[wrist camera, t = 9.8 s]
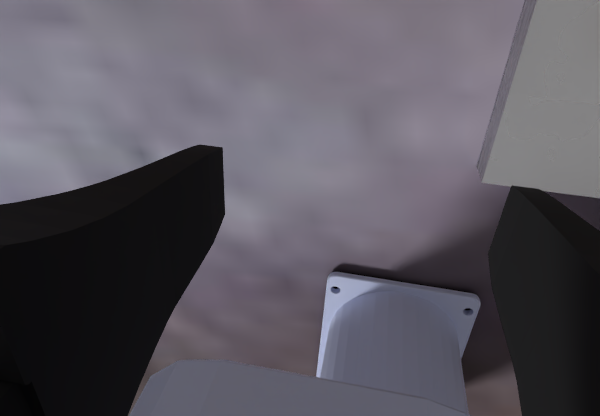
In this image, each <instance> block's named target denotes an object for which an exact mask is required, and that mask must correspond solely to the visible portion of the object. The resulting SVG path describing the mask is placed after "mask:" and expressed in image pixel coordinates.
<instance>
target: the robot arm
mask: <svg viewBox="0 0 600 416" xmlns="http://www.w3.org/2000/svg"><path fill="white" fill-rule="evenodd" d="M224 215H225V201H224V175H223V149H222V147H214V146H207V145H197V146H193V147H190V148H187V149H185V150H182V151H179V152H177V153H175V154H172V155H170V156H167V157H165V158H163V159H160V160H158V161H155V162H153V163H151V164H148V165H146V166H143V167H141V168H138V169H136V170H133V171H130V172H128V173H125V174H122V175H120V176H117V177H114V178H112V179H109V180H106V181H103V182H100V183H97V184H93V185H90V186H87V187H83V188H79V189H76V190H72V191H68V192H64V193H60V194H56V195H51V196H46V197H41V198H36V199H31V200H26V201H21V202H15V203H9V204H2V205H0V416H128V413H129V410H130V408H131V405H132V403H133V400H134V398H135V395H136V393H137V390H138V387H139V385H140V383H141V380H142V378H143V376H144V373H145V371H146V369H147V366H148V364H149V362H150V359H151V357H152V354H153V352H154V350H155V348H156V345H157V343H158V341H159V339H160V337H161V335H162V332H163V330H164V328H165V326H166V324H167V321H168V319H169V317H170V316H171V314H172V312H173V310H174V308H175V306H176V305H177V303H178V301H179V300H180V298H181V296H182V295H183V293H184V291H185V290H186V288H187V286H188V285H189V283H190V281H191V280H192V278H193V276H194V275H195V273H196V272H197V270H198V268H199V267H200V265H201V263H202V262H203V260H204V258H205V256H206V255H207V253H208V251H209V250H210V248H211V246H212V244H213V243H214V240H215V238H216V235H217V233H218V231H219V228H220V226H221V223H222V221H223V218H224ZM488 256H489V267H490V276H491V284H492V290H493V294H494V298H495V301H496V305H497V309H498V312H499V316H500V320H501V323H502V327H503V330H504V334H505V338H506V341H507V345H508V348H509V352H510V356H511V359H512V363H513V367H514V371H515V376H516V380H517V385H518V392H519V398H520V405H521V411H522V416H600V231H599V230H597V229H596V228H594V227H593V226H592V225H590V224H589V223H587V222H586V221H585V220H583V219H582V218H581V217H579V216H578V215H577V214H575V213H574V212H572V211H571V210H570V209H568V208H567V207H566V206H564V205H563V204H561V203H560V202H559V201H557V200H556V199H554V198H553V197H551V196H550V195H548V194H547V193H545V192H543V191H542V190H540V189H536V188H528V187H520V186H513V185H512V186H511V189H510V192H509V195H508V197H507V200H506V203H505V206H504V209H503V212H502V215H501V218H500V221H499V224H498V226H497V229H496V232H495V235H494V238H493V241H492V244H491V247H490V250H489V253H488ZM333 286H336V287H339V289H335V288H333ZM480 305H481V303H480V299H479V297H478V296H477V295H476V294H473V293H467V292H461V291H455V290H449V289H442V288H436V287H430V286H424V285H417V284H411V283H405V282H399V281H392V280H386V279H380V278H373V277H367V276H361V275H355V274H348V273H342V272H332V273H330V274H329V276H328V279H327V287H326V296H325V305H324V313H323V322H322V331H321V340H320V349H319V358H318V366H317V375H316V377H314V376H309V375H303V374H298V373H293V372H288V371H282V370H277V369H272V368H266V367H261V366H256V365H251V364H245V363H240V362H235V361H229V360H208V359H186V360H178V361H176V362H175V363H173V364H171V365H169V366H168V367H166V368H164V369H162V370H160V371H159V372H157V373H155V374H153V375H151V376H150V378H149V380H148V382H147V384H146V386H145V387H144V389H143V391H142V393H141V395H140V397H139V398H138V400H137V402H136V404H135V406H134V408H133V409H132V411H131V413H130V415H129V416H471V415H469V413H468V406H467V399H466V391H465V384H464V377H463V370H462V363H461V358H462V356H463V353H464V350H465V347H466V344H467V342H468V339H469V336H470V333H471V331H472V328H473V325H474V322H475V320H476V317H477V314H478V311H479V308H480ZM466 308H470V309H471V310H464V309H466Z"/></svg>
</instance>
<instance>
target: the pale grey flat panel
mask: <svg viewBox="0 0 600 416" xmlns="http://www.w3.org/2000/svg"><path fill="white" fill-rule="evenodd" d="M477 170H478V173H479V176H480V179H481V182H482V183H486V184H494V185H502V186H509V187H511V186H512V185H513V186H520V187H528V188H536V189H540V190H542V191H548V192H555V193H563V194H570V195H578V196H586V197H593V198H600V0H525V2H524V6H523V9H522V13H521V16H520V20H519V23H518V26H517V30H516V33H515V37H514V40H513V44H512V47H511V51H510V54H509V57H508V61H507V64H506V68H505V71H504V75H503V78H502V81H501V85H500V88H499V92H498V95H497V99H496V102H495V106H494V109H493V112H492V116H491V119H490V123H489V126H488V130H487V133H486V136H485V140H484V143H483V147H482V150H481V154H480V157H479V161H478V164H477Z"/></svg>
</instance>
